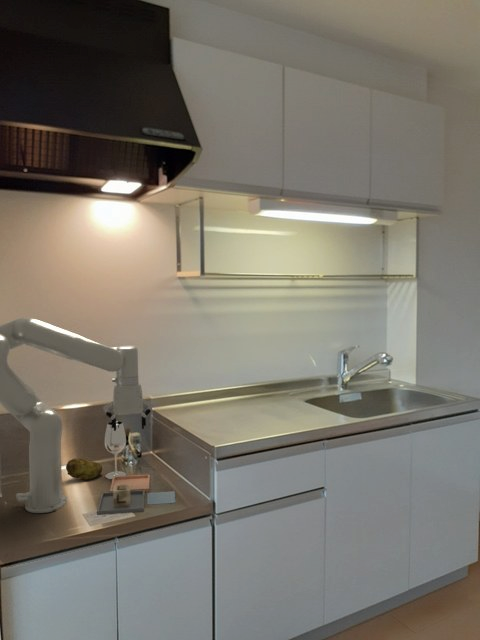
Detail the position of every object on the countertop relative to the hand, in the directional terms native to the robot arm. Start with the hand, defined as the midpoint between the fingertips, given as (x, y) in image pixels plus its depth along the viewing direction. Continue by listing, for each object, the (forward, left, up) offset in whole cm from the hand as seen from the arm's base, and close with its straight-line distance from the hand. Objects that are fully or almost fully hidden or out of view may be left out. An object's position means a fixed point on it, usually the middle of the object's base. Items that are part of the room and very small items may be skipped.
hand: (129, 428), depth 176 cm
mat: (+11, -15, -20) cm, 27 cm away
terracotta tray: (0, -2, -20) cm, 20 cm away
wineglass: (-6, +9, -20) cm, 23 cm away
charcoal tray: (-2, -17, -20) cm, 26 cm away
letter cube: (-2, -17, -20) cm, 26 cm away
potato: (-17, +8, -20) cm, 27 cm away
